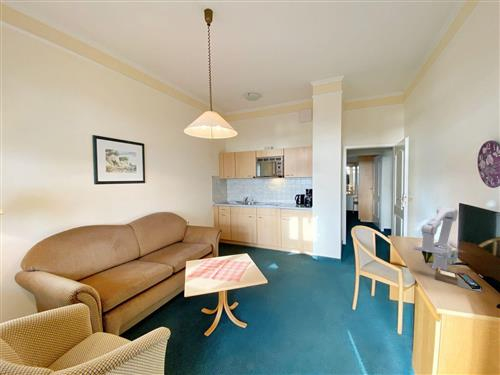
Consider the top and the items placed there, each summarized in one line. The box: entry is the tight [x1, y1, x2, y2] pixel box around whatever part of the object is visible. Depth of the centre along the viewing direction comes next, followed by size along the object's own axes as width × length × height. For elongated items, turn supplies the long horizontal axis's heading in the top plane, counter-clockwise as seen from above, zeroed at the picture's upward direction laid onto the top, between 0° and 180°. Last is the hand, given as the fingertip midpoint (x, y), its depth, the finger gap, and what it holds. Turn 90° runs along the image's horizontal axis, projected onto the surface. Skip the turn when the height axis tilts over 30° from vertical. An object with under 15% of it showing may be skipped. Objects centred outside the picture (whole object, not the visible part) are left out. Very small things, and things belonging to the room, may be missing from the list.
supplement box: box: [426, 252, 434, 264], centre depth 160 cm, size 6×6×11 cm
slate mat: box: [457, 278, 483, 294], centre depth 126 cm, size 12×10×1 cm
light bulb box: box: [442, 246, 459, 265], centre depth 159 cm, size 11×7×11 cm, turn 113°
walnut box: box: [434, 268, 459, 286], centre depth 133 cm, size 10×10×4 cm
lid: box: [438, 267, 455, 277], centre depth 133 cm, size 7×8×3 cm
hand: (426, 262), depth 139 cm, fingers closed
